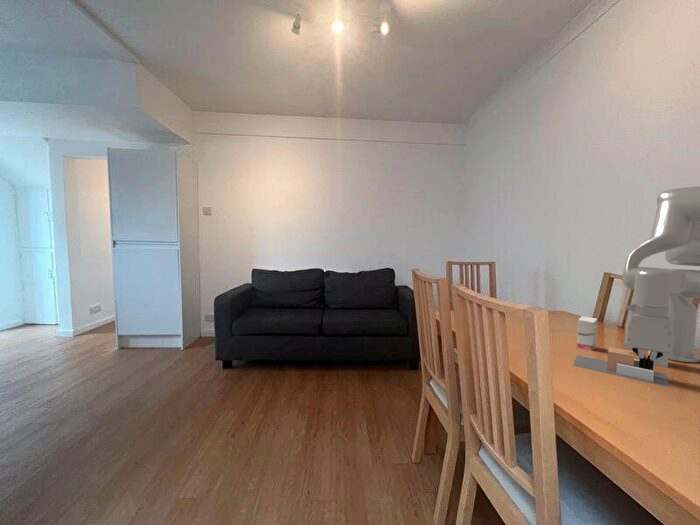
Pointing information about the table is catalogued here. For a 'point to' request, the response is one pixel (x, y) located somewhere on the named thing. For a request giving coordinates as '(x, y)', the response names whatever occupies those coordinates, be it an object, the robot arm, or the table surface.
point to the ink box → (587, 333)
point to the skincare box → (660, 360)
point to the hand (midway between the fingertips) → (645, 370)
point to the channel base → (623, 370)
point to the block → (619, 358)
